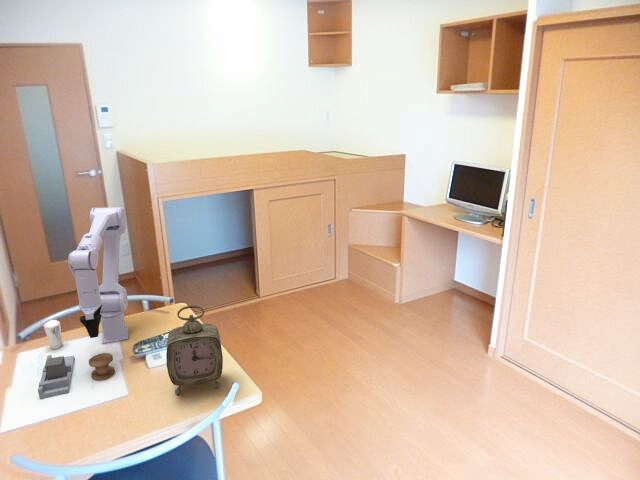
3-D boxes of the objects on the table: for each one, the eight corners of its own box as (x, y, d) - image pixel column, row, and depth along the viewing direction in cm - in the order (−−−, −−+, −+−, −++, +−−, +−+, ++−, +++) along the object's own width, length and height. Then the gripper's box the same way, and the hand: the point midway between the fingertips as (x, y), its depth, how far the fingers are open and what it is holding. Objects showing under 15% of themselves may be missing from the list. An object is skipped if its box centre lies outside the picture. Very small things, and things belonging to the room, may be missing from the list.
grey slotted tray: (49, 363, 140) (47, 354, 139) (74, 358, 143) (73, 349, 142) (39, 398, 124) (37, 388, 123) (68, 392, 127) (66, 382, 126)
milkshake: (46, 345, 150) (40, 318, 147) (64, 341, 152) (59, 314, 149) (45, 352, 146) (39, 324, 143) (64, 348, 148) (58, 320, 145)
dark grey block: (51, 376, 132) (47, 358, 130) (67, 374, 133) (63, 356, 131) (48, 384, 128) (44, 366, 126) (64, 382, 129) (61, 363, 127)
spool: (92, 370, 137) (89, 355, 135) (115, 365, 139) (112, 351, 137) (90, 382, 131) (87, 367, 129) (115, 377, 133) (112, 362, 132)
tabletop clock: (170, 399, 124) (160, 316, 116) (171, 379, 132) (162, 301, 124) (225, 390, 128) (219, 309, 120) (222, 372, 136) (216, 295, 128)
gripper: (102, 296, 129) (108, 339, 133) (104, 278, 142) (110, 318, 146) (74, 300, 126) (81, 344, 131) (78, 282, 139) (85, 322, 143)
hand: (95, 331), depth 138 cm, fingers open, 7 cm apart
